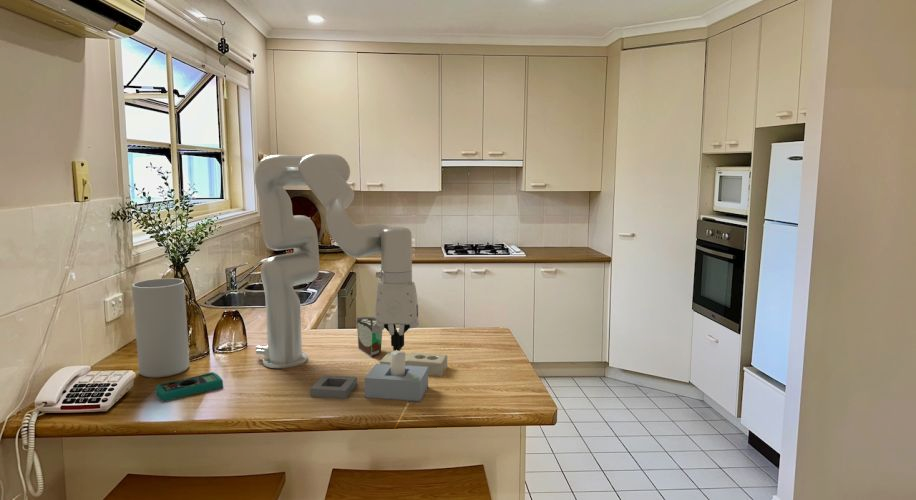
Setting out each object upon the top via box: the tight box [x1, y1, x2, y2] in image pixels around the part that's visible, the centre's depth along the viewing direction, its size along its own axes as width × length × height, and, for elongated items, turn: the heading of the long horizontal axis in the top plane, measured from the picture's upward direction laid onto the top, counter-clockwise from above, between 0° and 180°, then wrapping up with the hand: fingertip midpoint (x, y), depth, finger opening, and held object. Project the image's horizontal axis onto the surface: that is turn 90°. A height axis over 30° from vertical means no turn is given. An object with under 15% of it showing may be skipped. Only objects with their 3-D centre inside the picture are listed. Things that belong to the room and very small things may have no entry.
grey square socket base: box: [309, 374, 358, 400], centre depth 141 cm, size 9×9×2 cm
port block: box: [364, 363, 429, 404], centre depth 140 cm, size 14×10×6 cm
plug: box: [390, 350, 406, 377], centre depth 140 cm, size 4×4×10 cm
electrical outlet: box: [379, 352, 448, 377], centre depth 157 cm, size 7×4×18 cm
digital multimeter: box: [155, 371, 224, 402], centre depth 141 cm, size 7×15×3 cm, turn 130°
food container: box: [355, 316, 385, 358], centre depth 171 cm, size 12×6×10 cm, turn 34°
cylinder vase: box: [131, 277, 190, 379], centre depth 153 cm, size 12×12×25 cm
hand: (397, 348), depth 139 cm, fingers closed
